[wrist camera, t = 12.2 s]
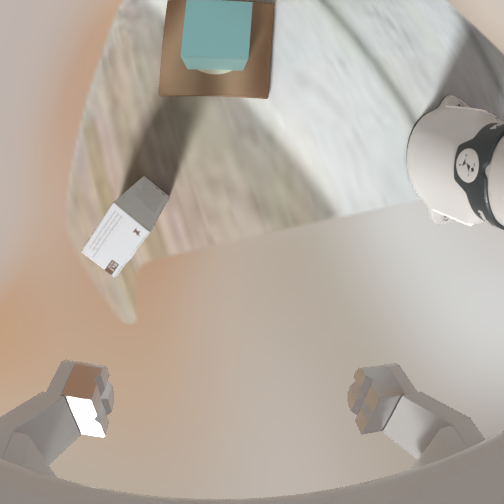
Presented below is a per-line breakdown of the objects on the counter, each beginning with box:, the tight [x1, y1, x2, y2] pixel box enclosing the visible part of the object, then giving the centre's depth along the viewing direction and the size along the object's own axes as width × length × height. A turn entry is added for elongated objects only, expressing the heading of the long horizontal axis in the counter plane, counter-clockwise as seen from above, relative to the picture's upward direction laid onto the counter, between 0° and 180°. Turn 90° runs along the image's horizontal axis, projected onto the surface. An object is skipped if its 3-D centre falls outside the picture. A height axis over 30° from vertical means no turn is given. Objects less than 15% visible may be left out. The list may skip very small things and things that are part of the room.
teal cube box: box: [181, 0, 253, 71], centre depth 27 cm, size 6×6×7 cm
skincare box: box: [82, 176, 169, 277], centre depth 31 cm, size 6×4×12 cm
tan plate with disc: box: [159, 0, 274, 99], centre depth 29 cm, size 12×12×4 cm
